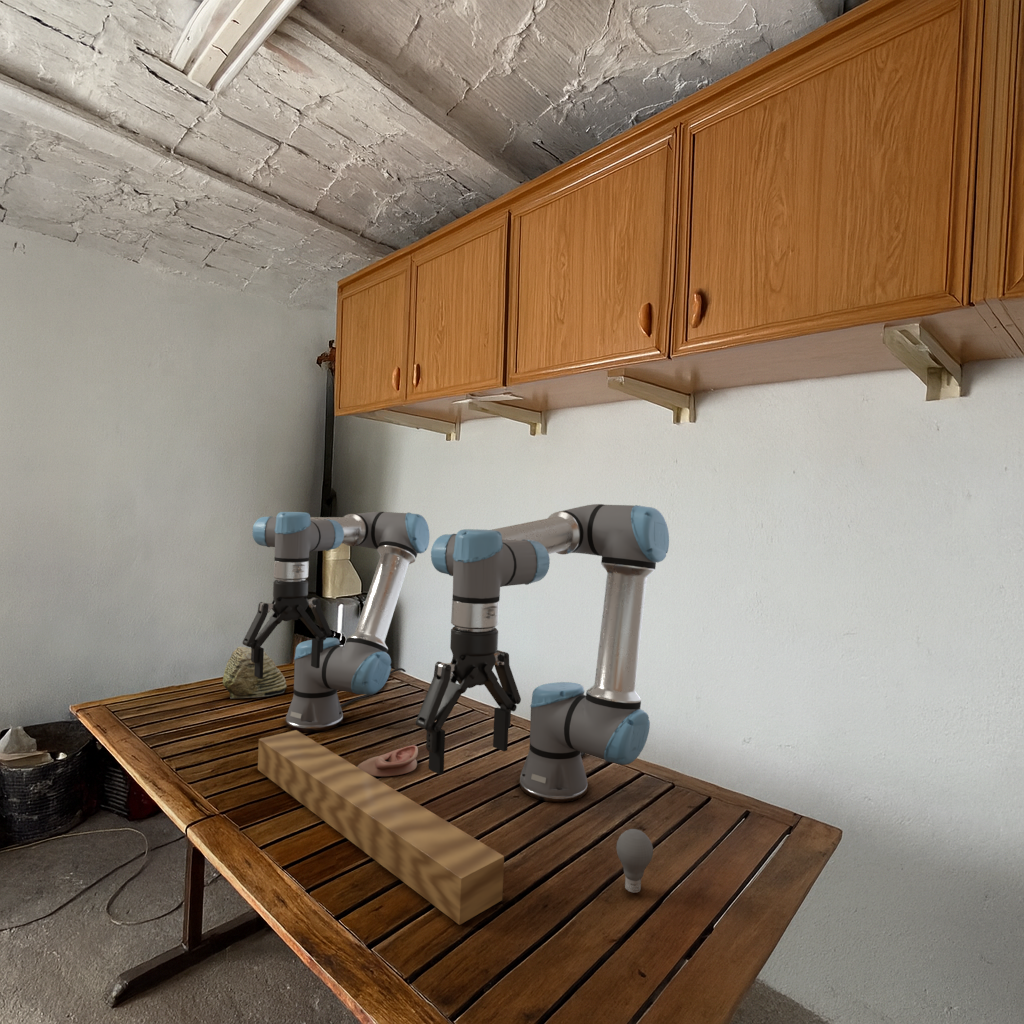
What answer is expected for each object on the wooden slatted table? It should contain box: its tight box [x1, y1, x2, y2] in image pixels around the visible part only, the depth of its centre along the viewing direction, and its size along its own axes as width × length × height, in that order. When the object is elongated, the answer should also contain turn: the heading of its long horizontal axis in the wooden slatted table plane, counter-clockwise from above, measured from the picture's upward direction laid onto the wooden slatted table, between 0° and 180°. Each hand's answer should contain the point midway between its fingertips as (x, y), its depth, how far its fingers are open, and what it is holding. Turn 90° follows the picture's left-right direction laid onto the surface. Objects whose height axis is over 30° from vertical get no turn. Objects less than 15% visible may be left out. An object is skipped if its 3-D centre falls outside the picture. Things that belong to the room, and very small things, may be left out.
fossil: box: [222, 646, 288, 699], centre depth 198 cm, size 9×18×15 cm, turn 132°
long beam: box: [257, 730, 505, 926], centre depth 123 cm, size 71×9×7 cm, turn 45°
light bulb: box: [615, 828, 654, 894], centre depth 106 cm, size 6×6×10 cm
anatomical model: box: [356, 744, 419, 777], centre depth 149 cm, size 13×4×12 cm
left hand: (287, 671), depth 145 cm, fingers open, 13 cm apart
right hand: (469, 759), depth 101 cm, fingers open, 13 cm apart
